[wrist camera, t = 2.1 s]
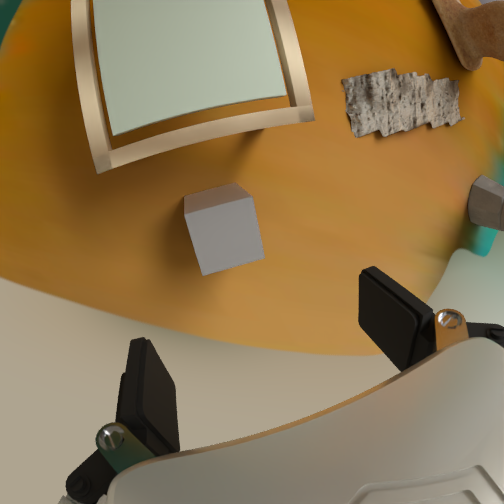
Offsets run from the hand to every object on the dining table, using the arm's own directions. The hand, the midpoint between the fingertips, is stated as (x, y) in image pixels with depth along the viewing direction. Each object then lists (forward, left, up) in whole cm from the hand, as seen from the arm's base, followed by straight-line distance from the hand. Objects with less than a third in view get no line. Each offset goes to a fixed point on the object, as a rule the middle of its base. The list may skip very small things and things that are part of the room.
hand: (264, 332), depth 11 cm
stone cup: (-23, +42, -18) cm, 51 cm away
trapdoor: (-18, 0, -8) cm, 20 cm away
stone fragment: (-10, +28, -18) cm, 35 cm away
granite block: (0, 0, -18) cm, 18 cm away
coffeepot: (+8, +45, -18) cm, 49 cm away
